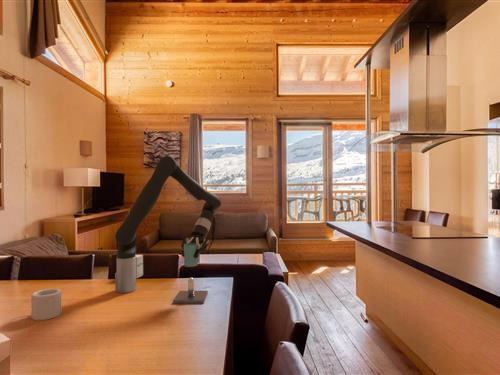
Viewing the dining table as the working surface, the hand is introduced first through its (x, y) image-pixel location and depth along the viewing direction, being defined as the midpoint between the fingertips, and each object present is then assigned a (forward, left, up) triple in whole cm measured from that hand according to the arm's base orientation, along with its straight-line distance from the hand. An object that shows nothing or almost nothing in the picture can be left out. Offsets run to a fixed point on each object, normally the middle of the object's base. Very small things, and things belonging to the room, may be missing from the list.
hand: (188, 256), depth 158 cm
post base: (+1, +1, -20) cm, 20 cm away
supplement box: (-40, +40, -20) cm, 61 cm away
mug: (-57, -19, -20) cm, 64 cm away
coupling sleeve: (+1, +2, -4) cm, 5 cm away
